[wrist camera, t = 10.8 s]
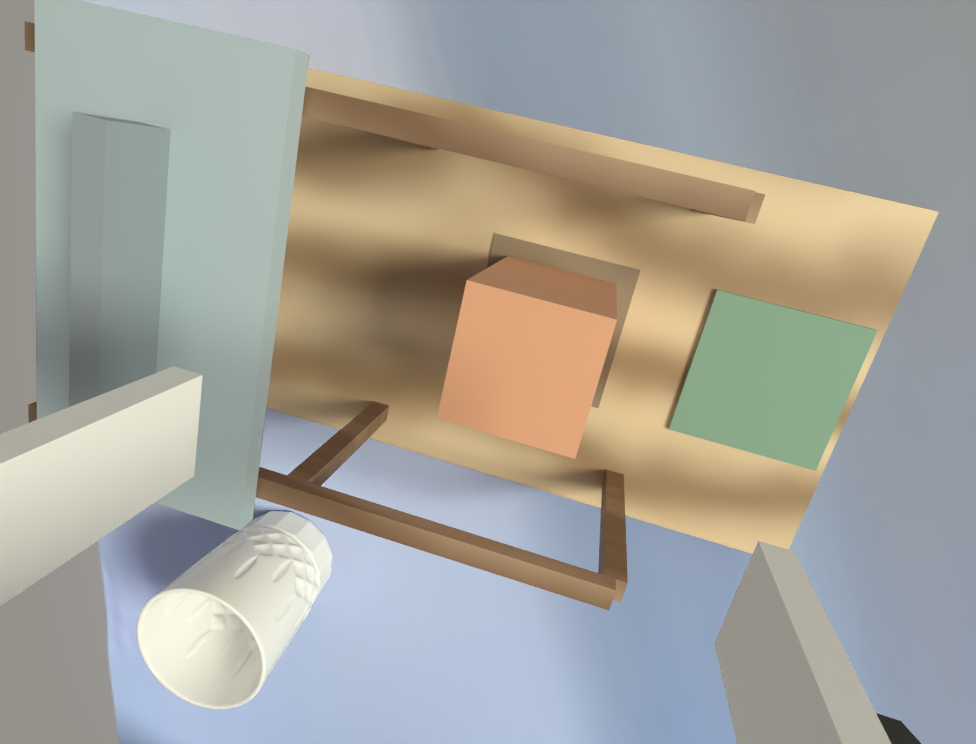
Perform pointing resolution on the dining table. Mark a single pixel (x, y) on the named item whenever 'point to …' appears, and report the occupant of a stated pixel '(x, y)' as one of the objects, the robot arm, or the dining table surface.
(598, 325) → the block
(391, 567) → the dining table surface
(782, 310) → the felt pad
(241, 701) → the white cup
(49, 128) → the lid
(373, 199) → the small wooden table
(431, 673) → the dining table surface
